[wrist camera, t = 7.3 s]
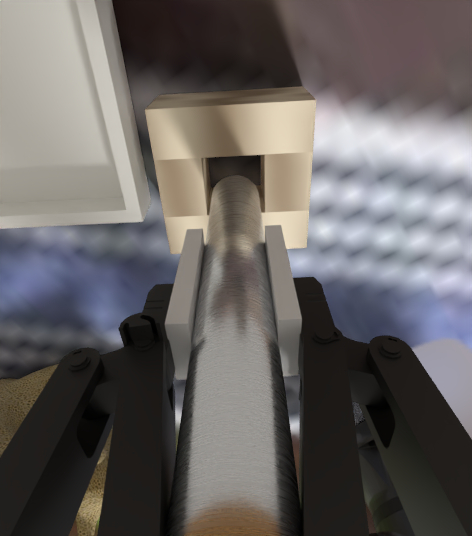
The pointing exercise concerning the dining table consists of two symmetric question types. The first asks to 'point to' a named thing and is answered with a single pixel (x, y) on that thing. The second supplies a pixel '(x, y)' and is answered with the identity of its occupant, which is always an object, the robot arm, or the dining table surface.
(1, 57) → the tray
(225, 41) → the dining table surface
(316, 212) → the dining table surface
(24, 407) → the decorative coral
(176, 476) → the steel pin
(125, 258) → the dining table surface
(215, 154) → the pin block
